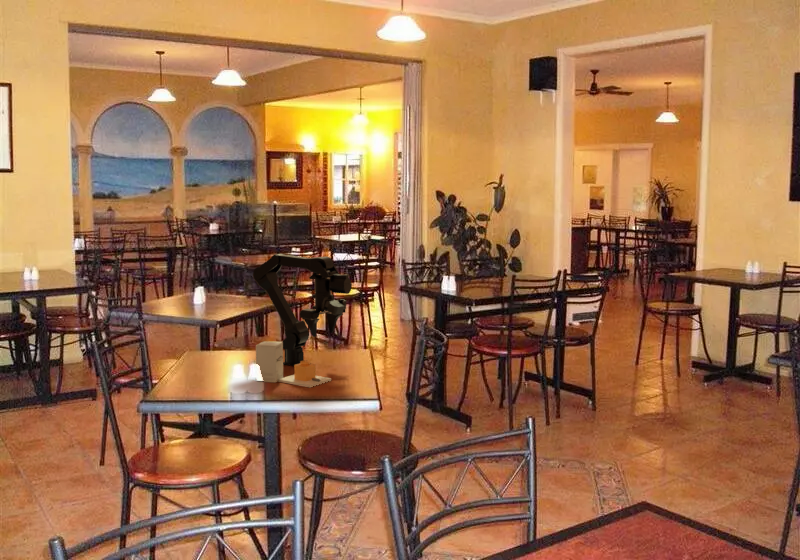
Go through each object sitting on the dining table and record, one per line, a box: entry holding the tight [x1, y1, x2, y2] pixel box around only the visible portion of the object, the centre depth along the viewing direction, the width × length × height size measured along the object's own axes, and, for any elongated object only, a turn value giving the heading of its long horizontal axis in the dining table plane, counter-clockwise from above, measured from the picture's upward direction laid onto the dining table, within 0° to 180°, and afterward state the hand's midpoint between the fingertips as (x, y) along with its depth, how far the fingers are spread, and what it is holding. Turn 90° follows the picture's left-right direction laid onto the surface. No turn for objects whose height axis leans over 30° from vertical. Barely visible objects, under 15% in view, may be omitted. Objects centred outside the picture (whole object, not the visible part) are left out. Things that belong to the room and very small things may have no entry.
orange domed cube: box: [293, 359, 317, 381], centre depth 278 cm, size 5×5×6 cm
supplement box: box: [255, 340, 284, 383], centre depth 280 cm, size 7×7×13 cm
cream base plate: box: [277, 374, 332, 388], centre depth 279 cm, size 14×11×5 cm
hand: (323, 334), depth 297 cm, fingers open, 9 cm apart
